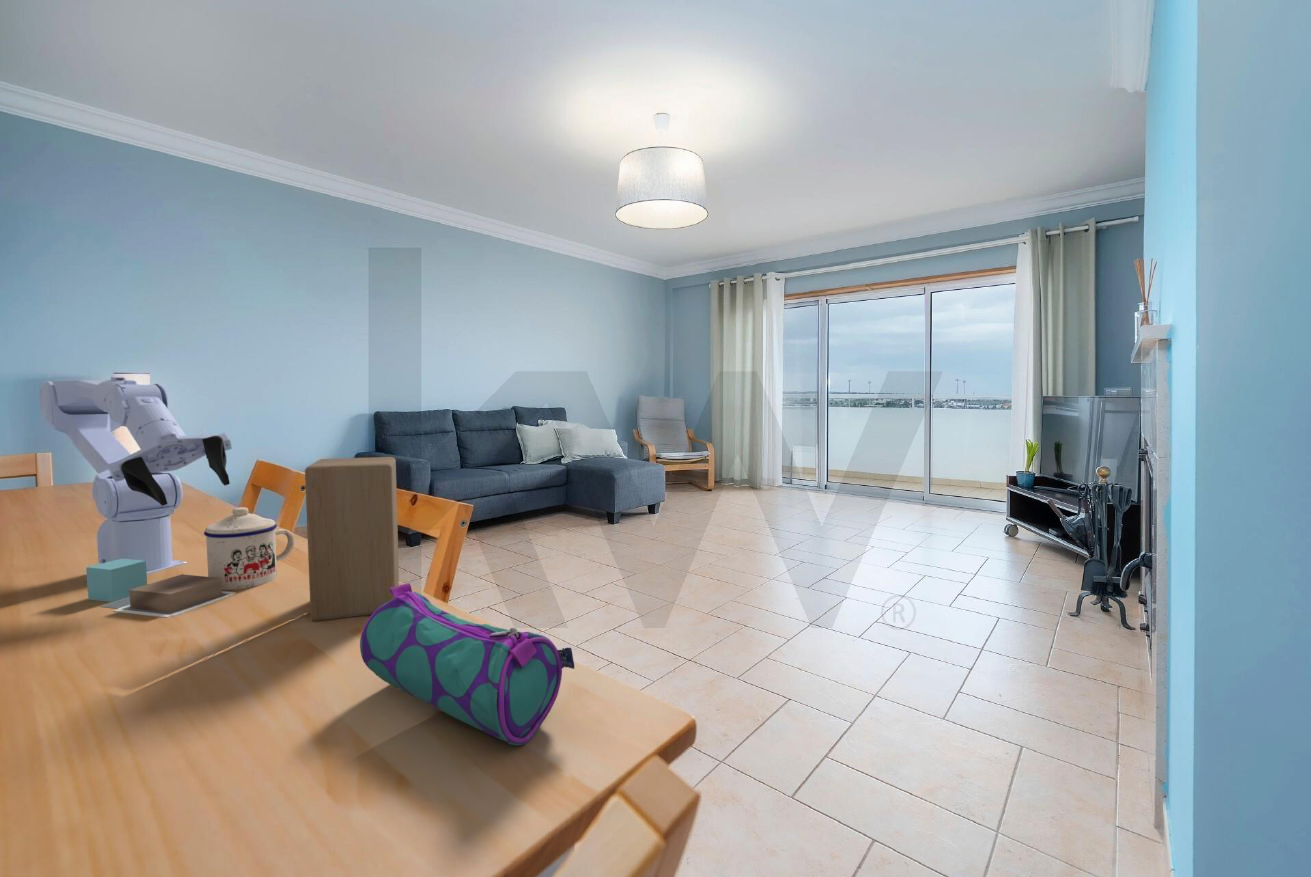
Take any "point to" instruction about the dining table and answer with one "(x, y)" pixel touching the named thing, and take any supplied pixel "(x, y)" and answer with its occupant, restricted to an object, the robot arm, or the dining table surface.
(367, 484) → the wooden block
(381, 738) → the dining table surface
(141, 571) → the teal cube
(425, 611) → the pencil case
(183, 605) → the walnut base
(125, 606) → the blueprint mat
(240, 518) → the teacup with lid
